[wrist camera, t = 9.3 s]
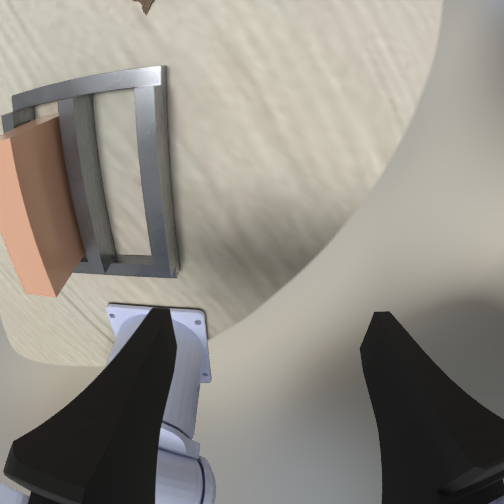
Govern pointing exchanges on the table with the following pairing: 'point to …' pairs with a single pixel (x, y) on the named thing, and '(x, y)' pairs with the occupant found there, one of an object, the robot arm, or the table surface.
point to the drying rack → (88, 171)
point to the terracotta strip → (38, 207)
